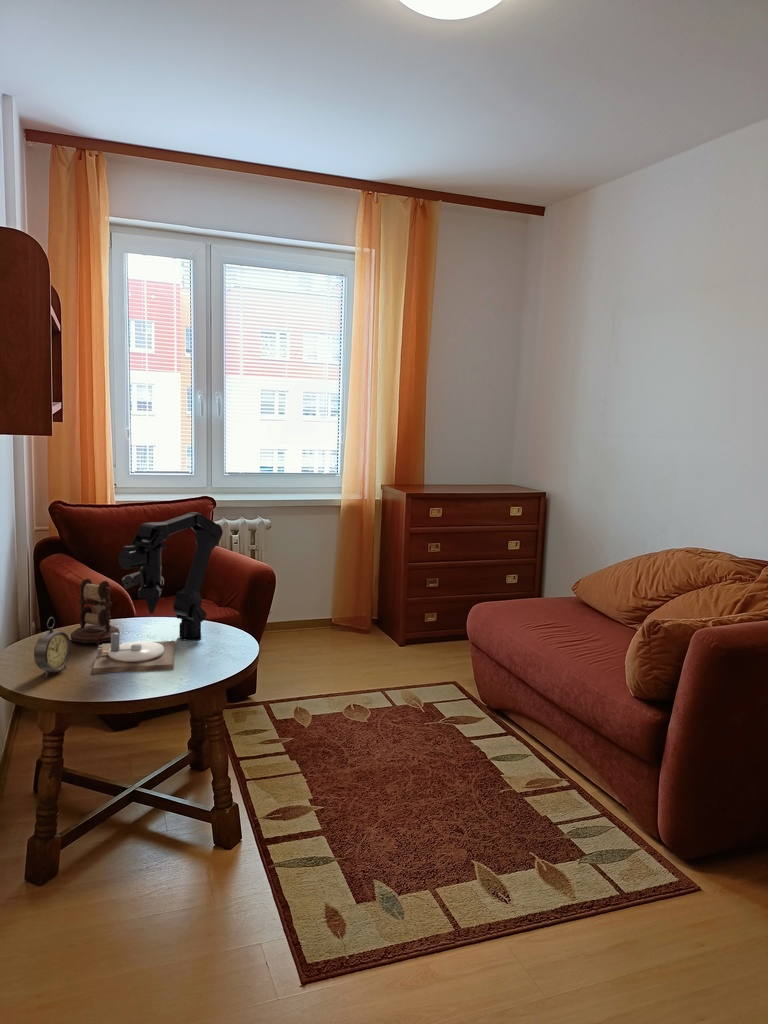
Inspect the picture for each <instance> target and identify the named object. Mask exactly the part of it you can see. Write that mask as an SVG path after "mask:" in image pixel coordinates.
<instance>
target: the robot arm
mask: <svg viewBox="0 0 768 1024" xmlns="http://www.w3.org/2000/svg"><path fill="white" fill-rule="evenodd" d="M190 528H191V530H193V531H194V532H195V537H194V540H195V543H196V550H195V552H194V556H193V559H192V562H191V564H190V565H191V566H190V569H189V572H188V576H187V578H186V583H185V586H184V587H183V589H182V590H181V591H176V593H175V596H174V601H173V602H172V604H173V611H174V613H175V616H176V619H180V621H181V622H179V637H180V640H181V639H195V640H202V622H203V621H205V620H206V619H207V615H208V614H207V612H206V611H205V610H204V609H203V607H201V606H202V595H201V588H202V584H203V581H204V578H205V574H206V571H207V568H208V564H209V560H210V557H211V554H212V551H213V550H214V548H215V547H217V546H218V545H219V543H220V541H221V538H222V536H223V528H222V526H221V525H220V524H219V523H216V522H214V521H212V520H211V519H209V518H208V517H206V516H205V515H203V514H202V513H200V512H194V511H190V512H188V513H186V514H183V515H180V516H176V517H174V518H171V519H168V520H165V521H159V522H158V521H157V522H156V521H154V522H153V521H151V522H143V523H142V524H141V525H139V528H138V530H137V533H136V534H135V536H134V538H133V539H132V541H131V543H130V545H124V546H123V547H122V550H121V551H120V553H119V555H118V557H117V559H118V564H119V567H120V568H121V569H123V570H130V569H136V568H140V569H139V570H138V571H137V572H133V573H130V574H127V575H125V576H123V577H122V579H121V581H122V586H124V589H126V590H128V589H130V588H132V587H134V586H136V585H139V586H140V588H139V589H138V591H137V598H139V599H145V602H146V605H147V608H148V614H154V612H155V609H156V608H157V604H158V602H159V600H160V598H161V594H162V593H163V588H160V586H164V584H165V578H164V577H163V576H162V570H163V569H162V568H163V567H162V566H163V565H162V550H163V549H167V548H168V547H167V545H166V544H164V543H163V542H164V541H166V540H168V538H169V537H170V536H172V535H173V534H175V533H178V532H180V531H184V530H186V529H190Z"/></svg>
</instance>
